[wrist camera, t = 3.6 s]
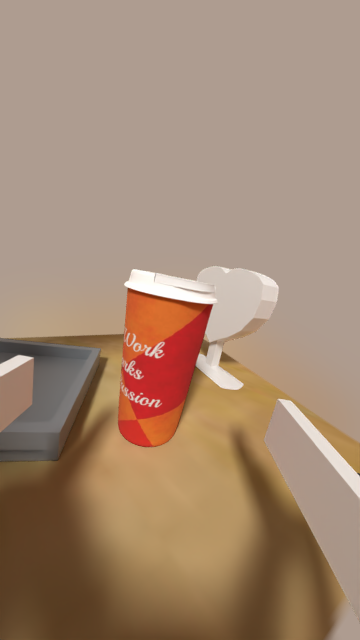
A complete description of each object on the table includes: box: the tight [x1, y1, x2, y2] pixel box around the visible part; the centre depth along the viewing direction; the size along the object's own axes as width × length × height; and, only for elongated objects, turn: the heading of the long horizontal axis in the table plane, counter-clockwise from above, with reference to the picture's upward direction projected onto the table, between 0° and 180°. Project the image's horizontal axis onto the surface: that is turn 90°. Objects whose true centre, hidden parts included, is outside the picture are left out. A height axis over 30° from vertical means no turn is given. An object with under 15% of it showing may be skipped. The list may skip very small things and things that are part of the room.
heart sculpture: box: [195, 266, 279, 390], centre depth 35 cm, size 16×5×18 cm, turn 30°
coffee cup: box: [118, 269, 218, 447], centre depth 19 cm, size 8×8×15 cm
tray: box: [0, 338, 101, 461], centre depth 21 cm, size 16×16×2 cm
